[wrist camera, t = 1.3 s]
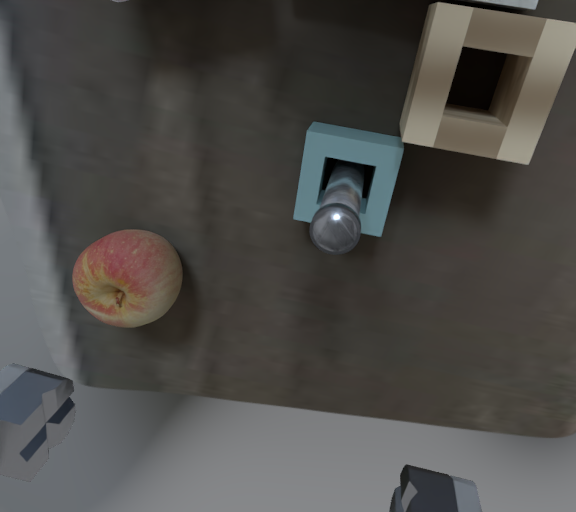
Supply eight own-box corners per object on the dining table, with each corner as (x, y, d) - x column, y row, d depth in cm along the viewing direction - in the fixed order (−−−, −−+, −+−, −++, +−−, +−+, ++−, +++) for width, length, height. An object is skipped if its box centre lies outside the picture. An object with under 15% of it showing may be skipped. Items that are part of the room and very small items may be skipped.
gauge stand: (313, 121, 36) (307, 130, 33) (402, 137, 35) (404, 148, 32) (300, 203, 40) (293, 219, 36) (381, 219, 39) (380, 237, 36)
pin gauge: (333, 150, 37) (313, 203, 26) (371, 157, 37) (365, 213, 26) (327, 186, 38) (305, 249, 28) (362, 193, 38) (354, 259, 28)
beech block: (428, 4, 31) (438, 1, 26) (550, 23, 30) (584, 24, 25) (399, 123, 35) (401, 141, 30) (506, 142, 34) (528, 164, 29)
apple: (92, 238, 45) (39, 278, 38) (159, 199, 42) (114, 235, 35) (145, 306, 48) (104, 356, 41) (212, 275, 45) (180, 323, 38)
